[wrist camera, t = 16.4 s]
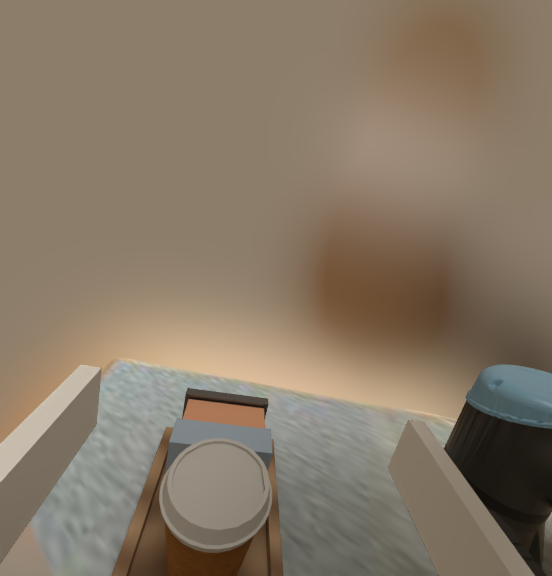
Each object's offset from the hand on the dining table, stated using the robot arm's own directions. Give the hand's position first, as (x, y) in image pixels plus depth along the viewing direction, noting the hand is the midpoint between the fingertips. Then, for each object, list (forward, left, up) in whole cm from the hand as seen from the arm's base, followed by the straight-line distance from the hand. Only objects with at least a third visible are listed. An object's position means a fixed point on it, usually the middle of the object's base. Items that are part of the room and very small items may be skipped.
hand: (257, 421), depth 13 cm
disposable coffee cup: (-8, -5, -27) cm, 28 cm away
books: (-17, -10, -26) cm, 33 cm away
